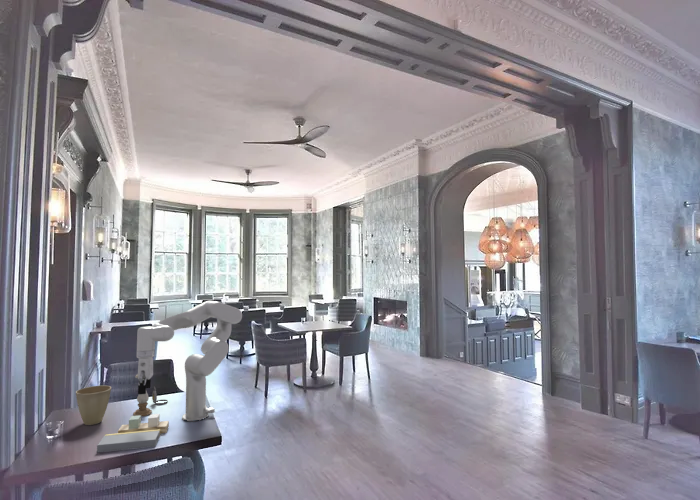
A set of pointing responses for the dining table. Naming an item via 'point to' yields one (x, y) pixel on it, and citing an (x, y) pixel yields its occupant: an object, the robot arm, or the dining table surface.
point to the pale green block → (134, 422)
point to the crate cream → (153, 420)
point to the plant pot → (93, 403)
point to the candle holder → (142, 405)
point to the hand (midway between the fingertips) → (144, 390)
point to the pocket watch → (154, 398)
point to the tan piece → (145, 427)
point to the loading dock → (128, 440)
